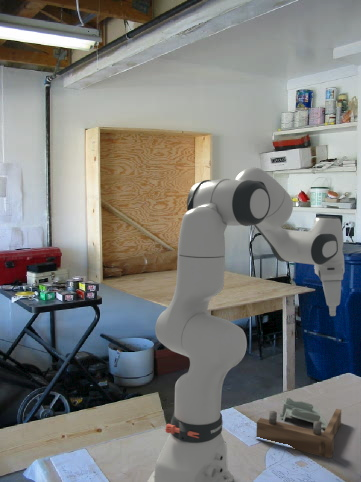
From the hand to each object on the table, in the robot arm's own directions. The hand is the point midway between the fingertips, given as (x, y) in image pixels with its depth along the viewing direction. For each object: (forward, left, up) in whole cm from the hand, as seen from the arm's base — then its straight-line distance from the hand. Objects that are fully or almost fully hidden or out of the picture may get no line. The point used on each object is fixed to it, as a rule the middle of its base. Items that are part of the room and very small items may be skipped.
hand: (331, 309), depth 157 cm
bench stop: (-21, +2, -31) cm, 38 cm away
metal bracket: (-13, +4, -32) cm, 35 cm away
